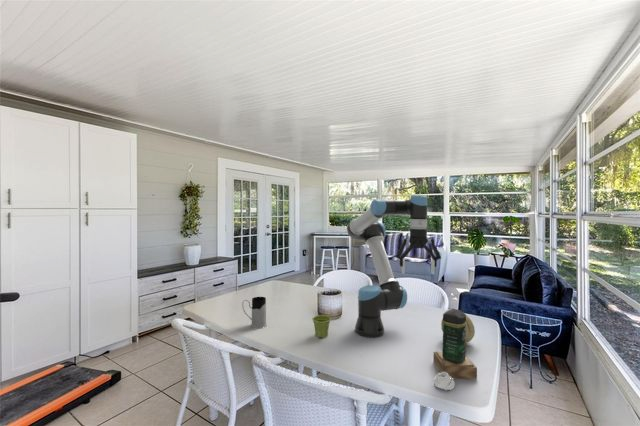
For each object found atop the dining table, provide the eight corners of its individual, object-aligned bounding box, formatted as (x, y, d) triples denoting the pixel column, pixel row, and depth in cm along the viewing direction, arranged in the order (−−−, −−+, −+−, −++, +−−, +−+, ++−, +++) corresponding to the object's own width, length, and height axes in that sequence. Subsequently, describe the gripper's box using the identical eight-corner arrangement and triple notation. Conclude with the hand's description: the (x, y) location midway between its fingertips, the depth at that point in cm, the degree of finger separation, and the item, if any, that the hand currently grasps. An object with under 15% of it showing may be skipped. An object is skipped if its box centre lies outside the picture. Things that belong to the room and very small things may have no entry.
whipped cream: (449, 397, 102) (450, 384, 102) (429, 387, 107) (430, 375, 106) (456, 385, 108) (457, 373, 107) (437, 376, 112) (438, 364, 112)
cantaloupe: (473, 352, 132) (473, 318, 132) (438, 344, 140) (438, 313, 140) (476, 340, 145) (476, 309, 145) (444, 333, 153) (444, 304, 153)
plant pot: (317, 340, 145) (317, 323, 145) (309, 333, 153) (309, 317, 153) (334, 337, 149) (334, 319, 149) (325, 330, 157) (325, 314, 157)
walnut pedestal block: (444, 378, 112) (444, 365, 112) (433, 362, 124) (433, 350, 124) (476, 379, 111) (476, 366, 111) (463, 363, 123) (463, 351, 123)
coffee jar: (461, 366, 111) (461, 316, 111) (440, 359, 116) (440, 312, 116) (468, 356, 118) (468, 310, 118) (447, 350, 124) (447, 306, 124)
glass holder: (263, 329, 159) (263, 301, 159) (238, 327, 162) (238, 299, 162) (269, 323, 168) (269, 296, 168) (246, 321, 170) (246, 295, 170)
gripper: (392, 228, 135) (392, 275, 135) (448, 229, 133) (448, 275, 134) (389, 227, 142) (389, 271, 143) (442, 227, 141) (442, 272, 141)
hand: (417, 273), depth 138 cm, fingers open, 13 cm apart
